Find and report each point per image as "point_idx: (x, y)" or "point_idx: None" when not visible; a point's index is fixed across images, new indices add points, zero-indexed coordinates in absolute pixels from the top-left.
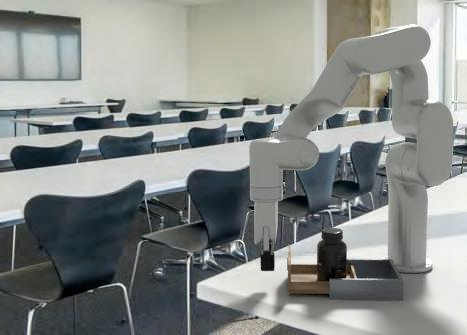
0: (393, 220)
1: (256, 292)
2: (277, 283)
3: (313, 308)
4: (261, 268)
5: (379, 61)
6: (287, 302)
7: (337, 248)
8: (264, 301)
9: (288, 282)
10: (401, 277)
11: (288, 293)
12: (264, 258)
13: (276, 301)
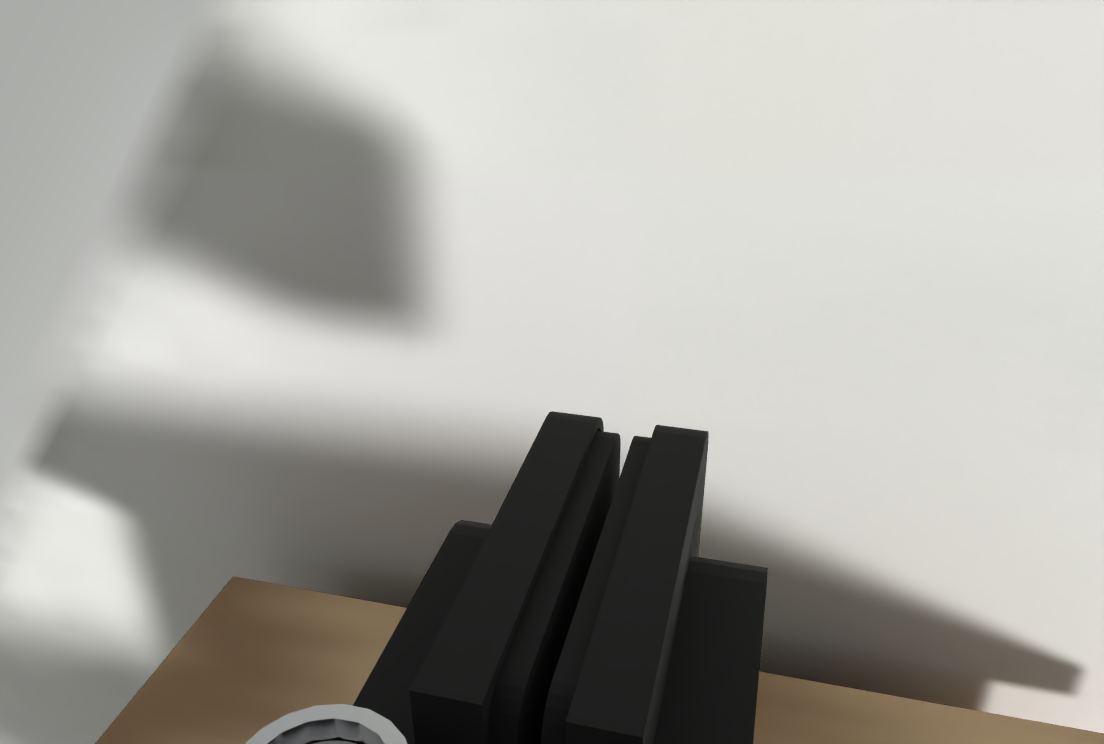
0: None
1: (424, 177)
2: (826, 507)
3: (91, 698)
4: (545, 445)
5: None
6: (165, 522)
7: None
8: (124, 278)
9: (130, 704)
10: None
11: (221, 593)
12: (371, 692)
13: (162, 416)
